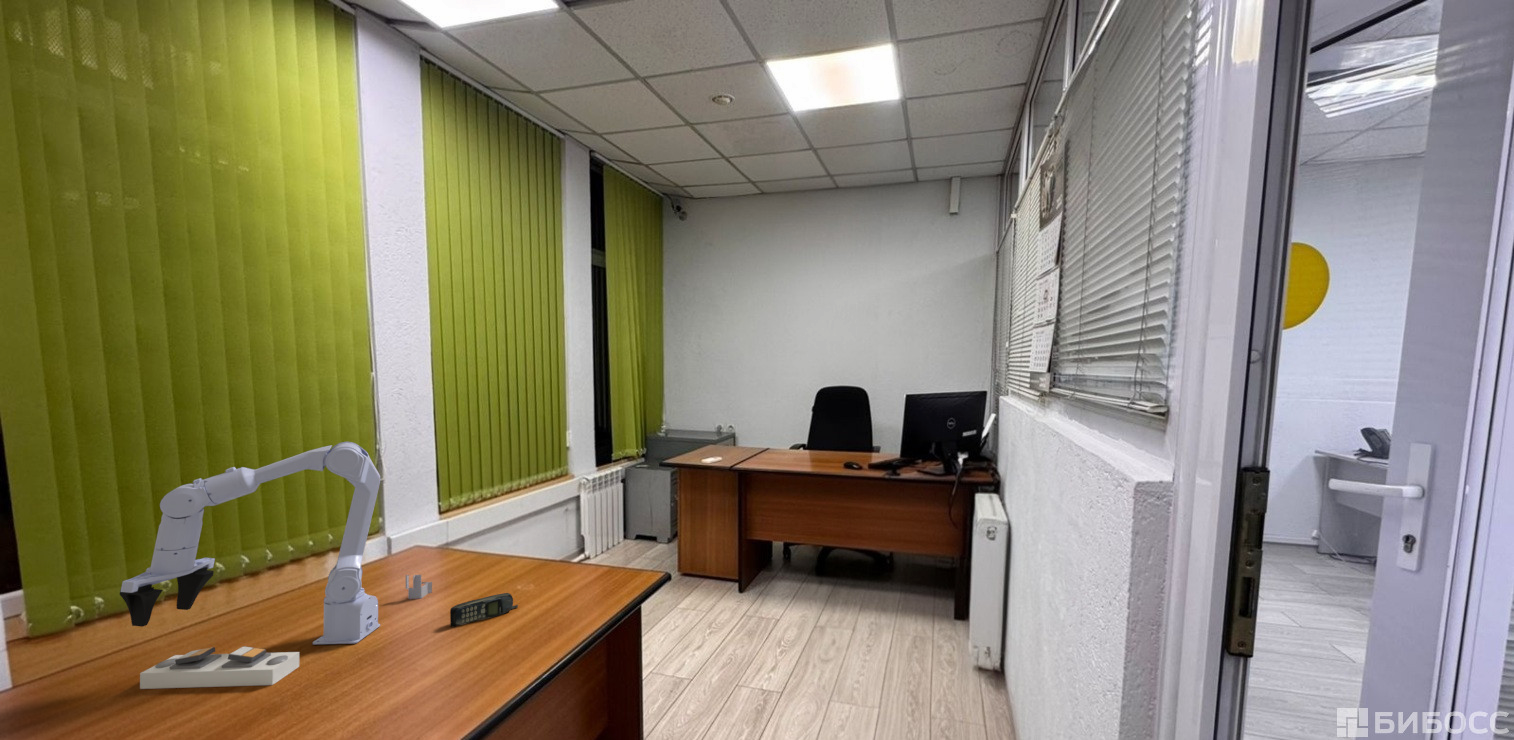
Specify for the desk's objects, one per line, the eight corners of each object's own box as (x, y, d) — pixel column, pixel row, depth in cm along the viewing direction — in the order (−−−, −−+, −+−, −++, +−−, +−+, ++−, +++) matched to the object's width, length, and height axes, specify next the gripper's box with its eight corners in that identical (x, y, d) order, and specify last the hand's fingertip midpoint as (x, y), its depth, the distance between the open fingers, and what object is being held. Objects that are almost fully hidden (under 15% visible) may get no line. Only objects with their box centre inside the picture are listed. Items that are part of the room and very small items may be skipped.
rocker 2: (265, 653, 100) (266, 648, 100) (251, 662, 97) (252, 657, 97) (242, 650, 100) (243, 645, 100) (227, 659, 97) (228, 654, 97)
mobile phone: (450, 609, 117) (519, 591, 126) (449, 604, 120) (516, 587, 129) (451, 630, 117) (519, 610, 126) (449, 625, 120) (517, 606, 129)
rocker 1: (215, 651, 100) (214, 646, 100) (199, 660, 97) (198, 655, 97) (192, 655, 99) (191, 650, 99) (175, 664, 96) (175, 659, 96)
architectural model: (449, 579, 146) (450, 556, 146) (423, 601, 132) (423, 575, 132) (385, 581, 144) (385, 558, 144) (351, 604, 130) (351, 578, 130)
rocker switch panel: (299, 666, 102) (299, 649, 102) (272, 684, 96) (272, 666, 96) (174, 669, 101) (175, 652, 101) (140, 688, 95) (140, 670, 95)
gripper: (194, 535, 105) (181, 600, 104) (110, 555, 91) (93, 631, 90) (229, 538, 106) (216, 603, 105) (150, 558, 91) (134, 635, 90)
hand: (162, 616), depth 97 cm, fingers open, 7 cm apart
